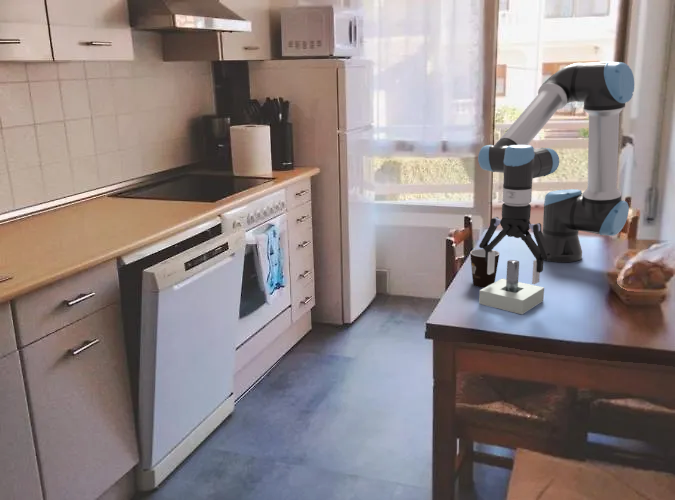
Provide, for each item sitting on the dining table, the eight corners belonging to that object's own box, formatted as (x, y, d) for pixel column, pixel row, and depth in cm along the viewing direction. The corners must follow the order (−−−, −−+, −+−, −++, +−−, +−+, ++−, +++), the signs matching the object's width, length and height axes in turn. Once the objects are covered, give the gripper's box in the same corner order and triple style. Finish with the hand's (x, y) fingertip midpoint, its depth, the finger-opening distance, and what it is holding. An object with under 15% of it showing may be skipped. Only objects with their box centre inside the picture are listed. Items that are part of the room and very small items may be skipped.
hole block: (501, 291, 187) (502, 278, 185) (543, 300, 178) (544, 287, 177) (479, 303, 177) (479, 290, 176) (522, 314, 169) (522, 300, 168)
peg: (508, 299, 180) (510, 259, 177) (519, 301, 178) (521, 261, 174) (503, 302, 178) (505, 262, 174) (513, 305, 176) (515, 264, 172)
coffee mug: (498, 289, 188) (500, 257, 185) (469, 288, 190) (470, 256, 187) (497, 277, 199) (498, 246, 196) (469, 276, 201) (470, 245, 198)
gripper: (468, 200, 175) (466, 272, 181) (555, 211, 159) (549, 290, 165) (482, 195, 181) (479, 266, 186) (567, 206, 164) (561, 283, 170)
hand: (512, 278), depth 176 cm, fingers open, 13 cm apart
